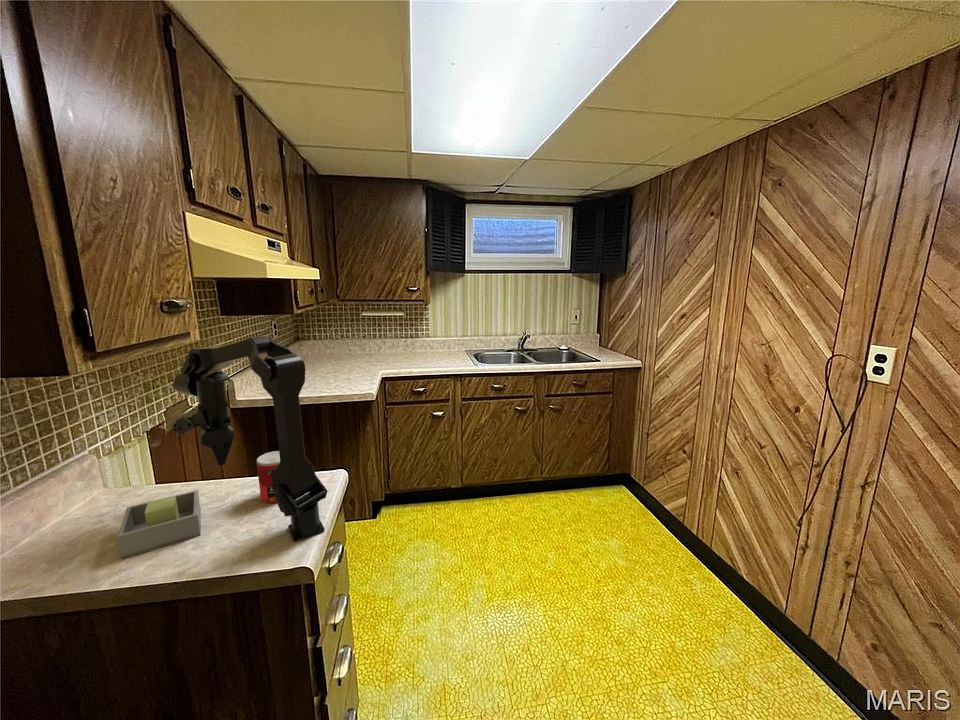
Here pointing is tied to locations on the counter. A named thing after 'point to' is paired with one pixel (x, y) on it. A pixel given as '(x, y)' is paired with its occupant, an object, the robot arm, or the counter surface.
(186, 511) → the grey bin
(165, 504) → the green block
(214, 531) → the counter surface
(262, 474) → the canned food
